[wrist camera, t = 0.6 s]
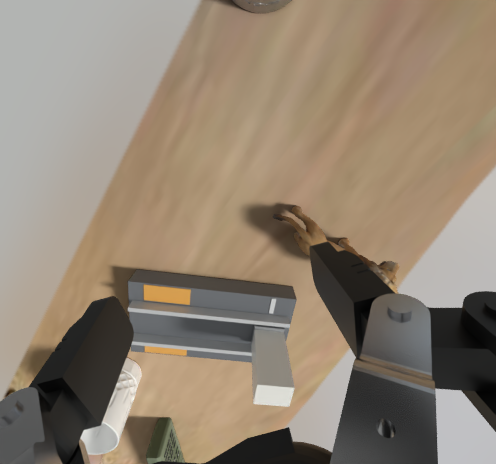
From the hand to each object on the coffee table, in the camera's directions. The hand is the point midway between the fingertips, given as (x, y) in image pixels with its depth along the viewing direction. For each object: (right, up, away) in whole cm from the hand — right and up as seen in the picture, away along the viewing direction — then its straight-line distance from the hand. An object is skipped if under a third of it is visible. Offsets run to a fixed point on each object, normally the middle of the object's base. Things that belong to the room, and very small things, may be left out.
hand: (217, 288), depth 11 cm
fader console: (-4, -10, +28) cm, 30 cm away
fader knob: (+4, -12, +26) cm, 29 cm away
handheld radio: (-13, -43, +42) cm, 62 cm away
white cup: (-20, -21, +33) cm, 44 cm away
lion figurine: (+12, +2, +24) cm, 27 cm away
